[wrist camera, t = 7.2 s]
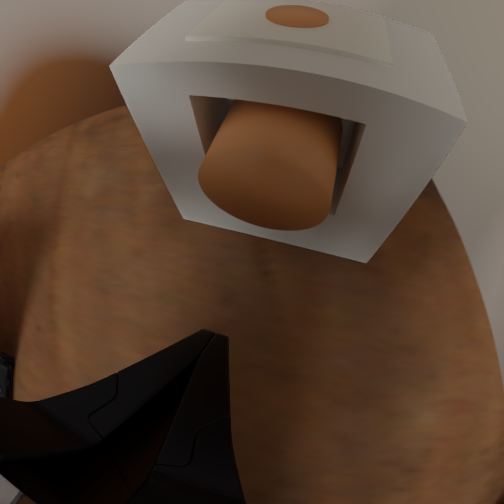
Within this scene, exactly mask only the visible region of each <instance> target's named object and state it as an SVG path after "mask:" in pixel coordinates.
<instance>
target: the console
mask: <svg viewBox="0 0 504 504" xmlns="http://www.w3.org/2000/svg"><path fill="white" fill-rule="evenodd" d="M109 67H110V69H111V71H112V74H113V76H114V78H115V80H116V83H117V85H118V87H119V89H120V91H121V94H122V96H123V98H124V100H125V102H126V104H127V107H128V109H129V111H130V113H131V115H132V117H133V119H134V121H135V124H136V126H137V128H138V130H139V132H140V134H141V136H142V138H143V140H144V142H145V144H146V146H147V148H148V151H149V153H150V155H151V157H152V159H153V161H154V163H155V165H156V167H157V169H158V171H159V173H160V175H161V177H162V179H163V181H164V183H165V184H166V186H167V188H168V190H169V192H170V194H171V196H172V198H173V200H174V202H175V204H176V206H177V208H178V210H179V212H180V213H181V215H182V217H183V219H186V220H190V221H195V222H199V223H203V224H207V225H212V226H216V227H220V228H224V229H229V230H233V231H237V232H241V233H245V234H250V235H254V236H258V237H262V238H266V239H270V240H274V241H279V242H283V243H287V244H291V245H295V246H299V247H303V248H307V249H311V250H315V251H319V252H323V253H327V254H331V255H335V256H339V257H343V258H347V259H351V260H355V261H358V262H362V263H367V262H368V261H369V260H370V258H371V257H372V256H373V255H374V254H375V252H376V251H377V250H378V249H379V247H380V246H381V245H382V244H383V242H384V241H385V240H386V239H387V237H388V236H389V235H390V234H391V232H392V231H393V230H394V229H395V227H396V226H397V225H398V223H399V222H400V221H401V219H402V218H403V217H404V215H405V214H406V213H407V212H408V210H409V209H410V207H411V206H412V205H413V203H414V202H415V201H416V199H417V198H418V197H419V195H420V194H421V192H422V191H423V190H424V188H425V187H426V185H427V184H428V183H429V181H430V180H431V178H432V177H433V175H434V174H435V172H436V171H437V170H438V168H439V167H440V165H441V164H442V162H443V160H444V159H445V157H446V156H447V155H448V153H449V151H450V150H451V148H452V147H453V145H454V144H455V142H456V140H457V139H458V137H459V136H460V134H461V132H462V131H463V129H464V128H465V126H466V124H467V123H468V122H467V119H466V115H465V112H464V109H463V106H462V103H461V100H460V97H459V94H458V92H457V89H456V86H455V84H454V81H453V78H452V76H451V74H450V71H449V69H448V66H447V64H446V62H445V59H444V57H443V55H442V53H441V51H440V49H439V46H438V44H437V42H436V40H435V38H434V36H433V34H432V33H429V32H427V31H424V30H422V29H419V28H416V27H414V26H411V25H408V24H405V23H402V22H399V21H395V20H393V19H389V18H386V17H384V16H381V15H377V14H374V13H370V12H366V11H362V10H358V9H353V8H349V7H344V6H339V5H334V4H328V3H322V2H316V1H309V0H186V1H185V2H183V3H182V4H180V5H179V6H178V7H176V8H175V9H174V10H172V11H171V12H170V13H168V14H167V15H166V16H164V17H163V18H162V19H161V20H159V21H158V22H157V23H156V24H154V25H153V26H152V27H151V28H150V29H148V30H147V31H146V32H145V33H144V34H143V35H141V36H140V37H139V38H138V39H137V40H136V41H135V42H134V43H133V44H132V45H130V46H129V47H128V48H127V49H126V50H125V51H124V52H123V53H122V54H121V55H120V56H119V57H118V58H117V59H116V60H115V61H114V62H113V63H112V64H111V65H110V66H109ZM235 99H238V100H247V101H254V102H261V103H268V104H275V105H281V106H286V107H292V108H298V109H303V110H308V111H313V112H317V113H322V114H327V115H331V116H335V117H339V118H341V122H342V130H343V132H342V139H341V146H340V152H339V159H338V165H337V171H336V177H335V183H334V189H333V195H332V200H331V206H330V211H329V214H328V216H327V217H326V219H325V220H324V221H323V222H321V223H320V224H318V225H317V226H314V227H312V228H308V229H304V230H296V231H283V230H274V229H268V228H263V227H260V226H256V225H253V224H250V223H247V222H245V221H242V220H240V219H238V218H235V217H234V216H232V215H230V214H228V213H226V212H225V211H223V210H222V209H220V208H219V207H217V206H216V205H215V204H214V203H213V202H212V201H211V200H210V199H209V198H208V197H207V196H206V195H205V194H204V192H203V191H202V189H201V187H200V185H199V181H198V171H199V168H200V166H201V164H202V162H203V160H204V158H205V156H206V154H207V152H208V150H209V148H210V146H211V144H212V142H213V140H214V138H215V136H216V134H217V132H218V130H219V128H220V126H221V124H222V122H223V120H224V118H225V117H226V115H227V113H228V111H229V109H230V107H231V105H232V103H233V102H234V100H235Z"/></svg>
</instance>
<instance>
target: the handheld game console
mask: <svg viewBox="0 0 504 504" xmlns="http://www.w3.org/2000/svg"><path fill="white" fill-rule="evenodd" d="M12 366H14V359H13V358H12V357H11V356H9V355H7V354H5V353H0V397H4V398H8V399H12V398H11V395H12V375H13V367H12Z"/></svg>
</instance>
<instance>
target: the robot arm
mask: <svg viewBox="0 0 504 504" xmlns="http://www.w3.org/2000/svg"><path fill="white" fill-rule="evenodd" d="M0 504H246V502H245V499H244V495H243V491H242V487H241V483H240V479H239V475H238V470H237V466H236V462H235V457H234V451H233V445H232V435H231V419H230V381H229V338H228V336H225V335H222V334H219V333H217V334H215V333H214V332H212V331H209V330H206V329H202V330H200V331H198V332H196V333H194V334H192V335H190V336H188V337H186V338H184V339H182V340H180V341H179V342H177V343H175V344H173V345H171V346H169V347H167V348H165V349H163V350H161V351H159V352H157V353H155V354H153V355H151V356H149V357H147V358H145V359H143V360H141V361H139V362H137V363H135V364H133V365H131V366H129V367H127V368H125V369H123V370H121V371H119V372H118V374H117V373H114V374H112V375H110V376H108V377H106V378H104V379H101V380H99V381H97V382H95V383H92V384H90V385H87V386H84V387H81V388H79V389H76V390H73V391H70V392H66V393H63V394H60V395H57V396H54V397H50V398H47V399H44V400H40V401H34V402H22V401H17V400H12V399H8V398H4V397H0Z"/></svg>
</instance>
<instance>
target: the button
mask: <svg viewBox="0 0 504 504" xmlns="http://www.w3.org/2000/svg"><path fill="white" fill-rule="evenodd" d="M342 132H343V130H342V122H341V118H339V117H335V116H331V115H327V114H322V113H317V112H313V111H308V110H303V109H298V108H292V107H286V106H281V105H275V104H268V103H261V102H254V101H247V100H238V99H235V100H234V102H233V103H232V105H231V107H230V109H229V111H228V113H227V115H226V117H225V118H224V120H223V122H222V124H221V126H220V128H219V130H218V132H217V134H216V136H215V138H214V140H213V142H212V144H211V146H210V148H209V150H208V152H207V154H206V156H205V158H204V160H203V162H202V164H201V166H200V168H199V171H198V181H199V185H200V187H201V189H202V191H203V192H204V194H205V195H206V196H207V197H208V198H209V199H210V200H211V201H212V202H213V203H214V204H215V205H216V206H217V207H219V208H220V209H222V210H223V211H225V212H226V213H228V214H230V215H232V216H234V217H235V218H238V219H240V220H242V221H245V222H247V223H250V224H253V225H256V226H260V227H263V228H268V229H274V230H283V231H296V230H304V229H308V228H312V227H314V226H317V225H318V224H320V223H321V222H323V221H324V220H325V219H326V217H327V216H328V214H329V211H330V206H331V200H332V195H333V189H334V183H335V177H336V171H337V165H338V159H339V152H340V146H341V139H342Z"/></svg>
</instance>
